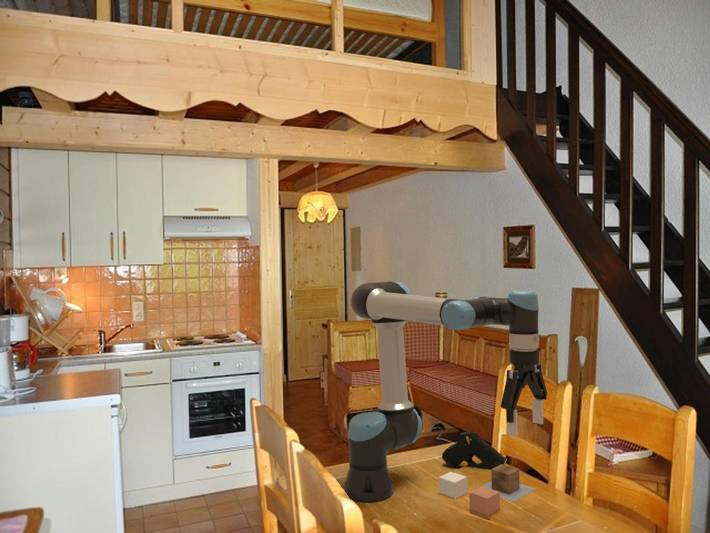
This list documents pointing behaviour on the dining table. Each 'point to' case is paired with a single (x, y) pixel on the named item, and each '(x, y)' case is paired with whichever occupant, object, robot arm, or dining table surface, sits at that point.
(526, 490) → the board
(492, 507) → the brick
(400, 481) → the dining table surface
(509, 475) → the brick
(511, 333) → the robot arm
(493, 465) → the taser
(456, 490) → the beige cube
